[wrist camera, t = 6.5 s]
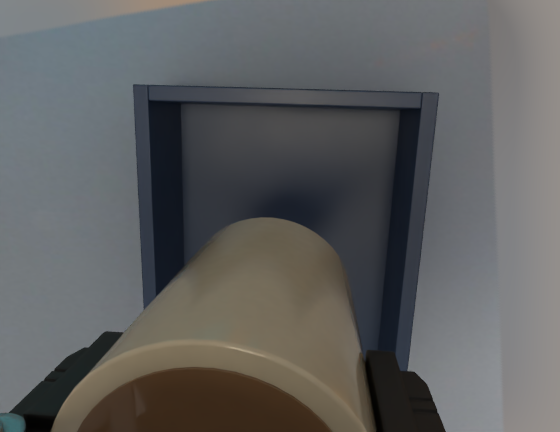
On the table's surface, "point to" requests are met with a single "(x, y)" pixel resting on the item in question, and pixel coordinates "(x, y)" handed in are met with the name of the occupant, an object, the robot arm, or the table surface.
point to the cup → (237, 345)
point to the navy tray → (292, 183)
